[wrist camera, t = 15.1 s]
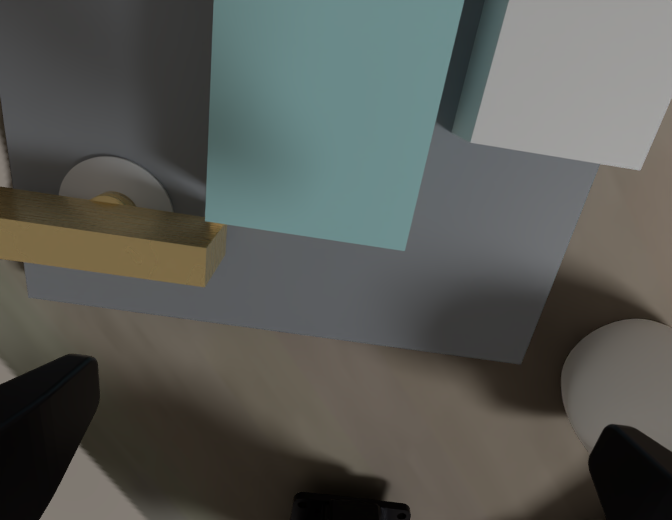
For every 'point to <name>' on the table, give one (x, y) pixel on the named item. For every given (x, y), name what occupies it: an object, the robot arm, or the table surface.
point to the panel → (328, 255)
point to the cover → (325, 114)
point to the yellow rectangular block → (109, 237)
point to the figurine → (620, 381)
